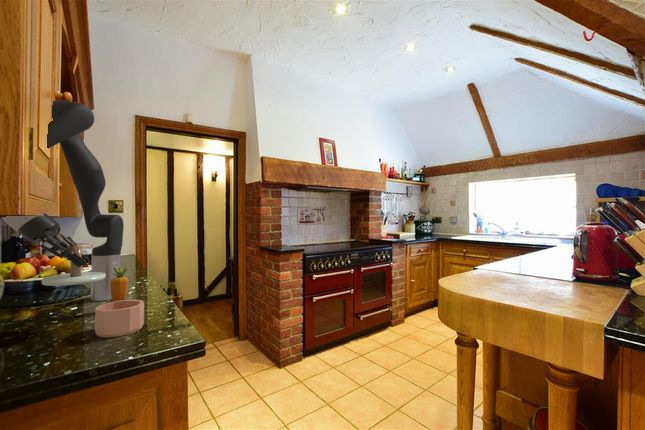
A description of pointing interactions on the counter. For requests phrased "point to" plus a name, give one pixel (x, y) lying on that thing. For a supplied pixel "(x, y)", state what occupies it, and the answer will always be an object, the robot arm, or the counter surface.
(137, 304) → the terracotta pot
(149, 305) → the counter surface
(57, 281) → the celadon lid
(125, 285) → the carrot
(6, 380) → the counter surface
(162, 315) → the counter surface
